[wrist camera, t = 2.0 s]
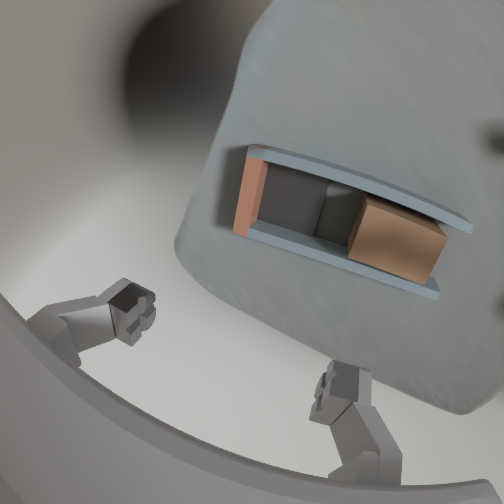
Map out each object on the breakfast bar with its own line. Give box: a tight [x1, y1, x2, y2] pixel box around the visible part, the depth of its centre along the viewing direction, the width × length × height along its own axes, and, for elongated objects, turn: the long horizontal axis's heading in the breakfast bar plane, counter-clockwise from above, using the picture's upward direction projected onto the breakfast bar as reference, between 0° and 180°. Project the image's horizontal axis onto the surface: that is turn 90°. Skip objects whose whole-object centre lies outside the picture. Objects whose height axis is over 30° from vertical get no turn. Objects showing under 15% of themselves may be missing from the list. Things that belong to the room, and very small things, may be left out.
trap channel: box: [232, 144, 474, 301], centre depth 24 cm, size 9×22×3 cm, turn 79°
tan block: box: [348, 193, 448, 285], centre depth 23 cm, size 5×8×4 cm, turn 78°
